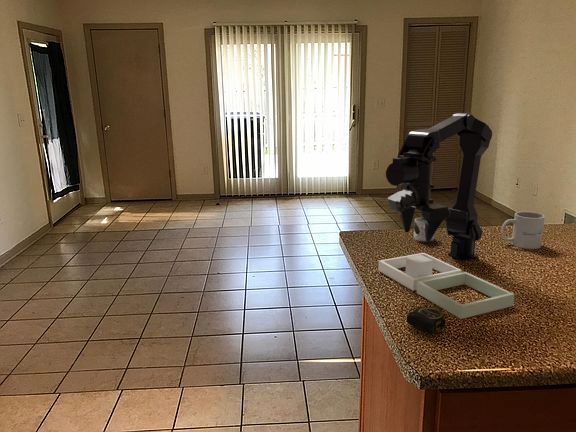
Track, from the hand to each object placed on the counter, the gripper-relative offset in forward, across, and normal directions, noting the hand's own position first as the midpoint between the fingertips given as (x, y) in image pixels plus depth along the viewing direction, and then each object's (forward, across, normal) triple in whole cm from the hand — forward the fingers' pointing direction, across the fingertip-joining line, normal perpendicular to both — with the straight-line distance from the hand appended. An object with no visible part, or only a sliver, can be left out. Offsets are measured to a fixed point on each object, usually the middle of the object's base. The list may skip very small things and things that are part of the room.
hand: (417, 236), depth 129 cm
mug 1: (+12, -24, +22) cm, 35 cm away
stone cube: (+11, +1, 0) cm, 11 cm away
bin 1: (+11, +1, 0) cm, 11 cm away
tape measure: (+11, +27, -17) cm, 33 cm away
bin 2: (+11, +18, +1) cm, 21 cm away
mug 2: (+12, -8, +47) cm, 49 cm away
